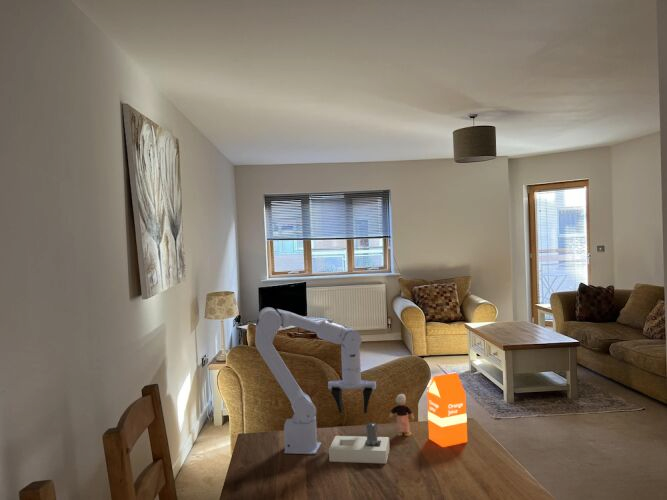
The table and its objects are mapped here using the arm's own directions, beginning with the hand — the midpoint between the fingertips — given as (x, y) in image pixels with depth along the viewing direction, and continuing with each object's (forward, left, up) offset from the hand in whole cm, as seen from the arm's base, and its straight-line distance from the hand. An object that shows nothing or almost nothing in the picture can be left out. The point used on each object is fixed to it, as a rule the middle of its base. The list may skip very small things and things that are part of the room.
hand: (353, 412), depth 160 cm
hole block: (+3, -9, -9) cm, 13 cm away
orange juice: (+28, +4, -10) cm, 30 cm away
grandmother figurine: (+14, +8, -10) cm, 19 cm away
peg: (+7, -9, -9) cm, 15 cm away
